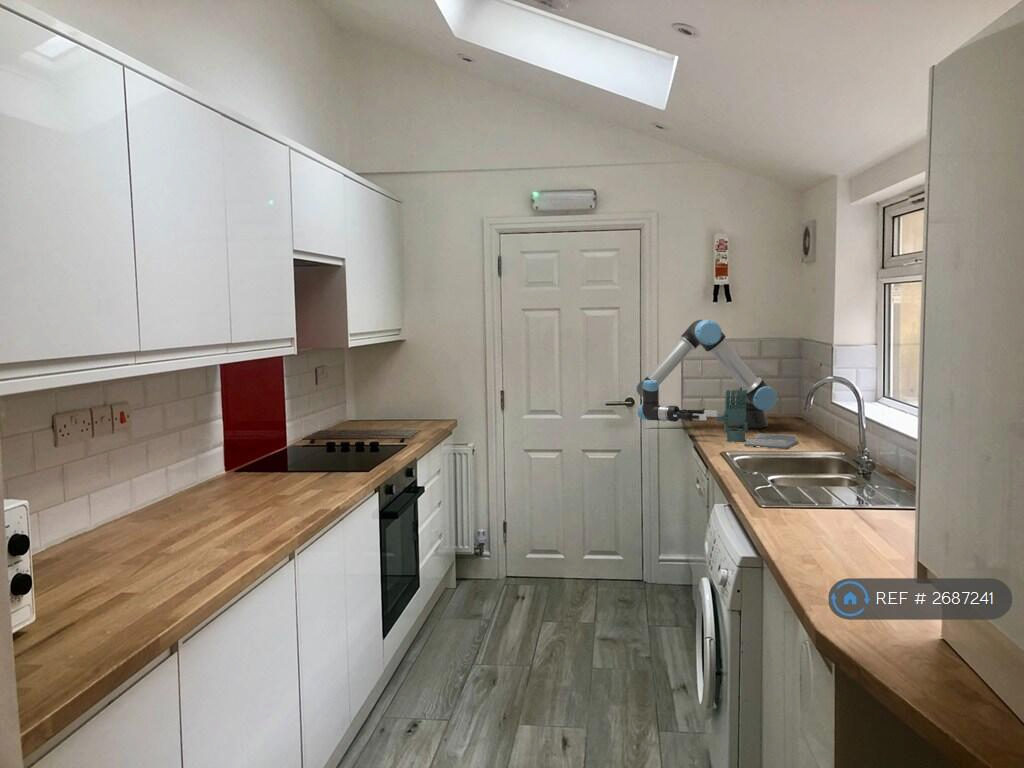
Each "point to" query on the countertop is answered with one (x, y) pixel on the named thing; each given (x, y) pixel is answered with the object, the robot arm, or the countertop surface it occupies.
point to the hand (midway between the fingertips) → (712, 415)
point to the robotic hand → (734, 415)
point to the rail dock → (772, 440)
